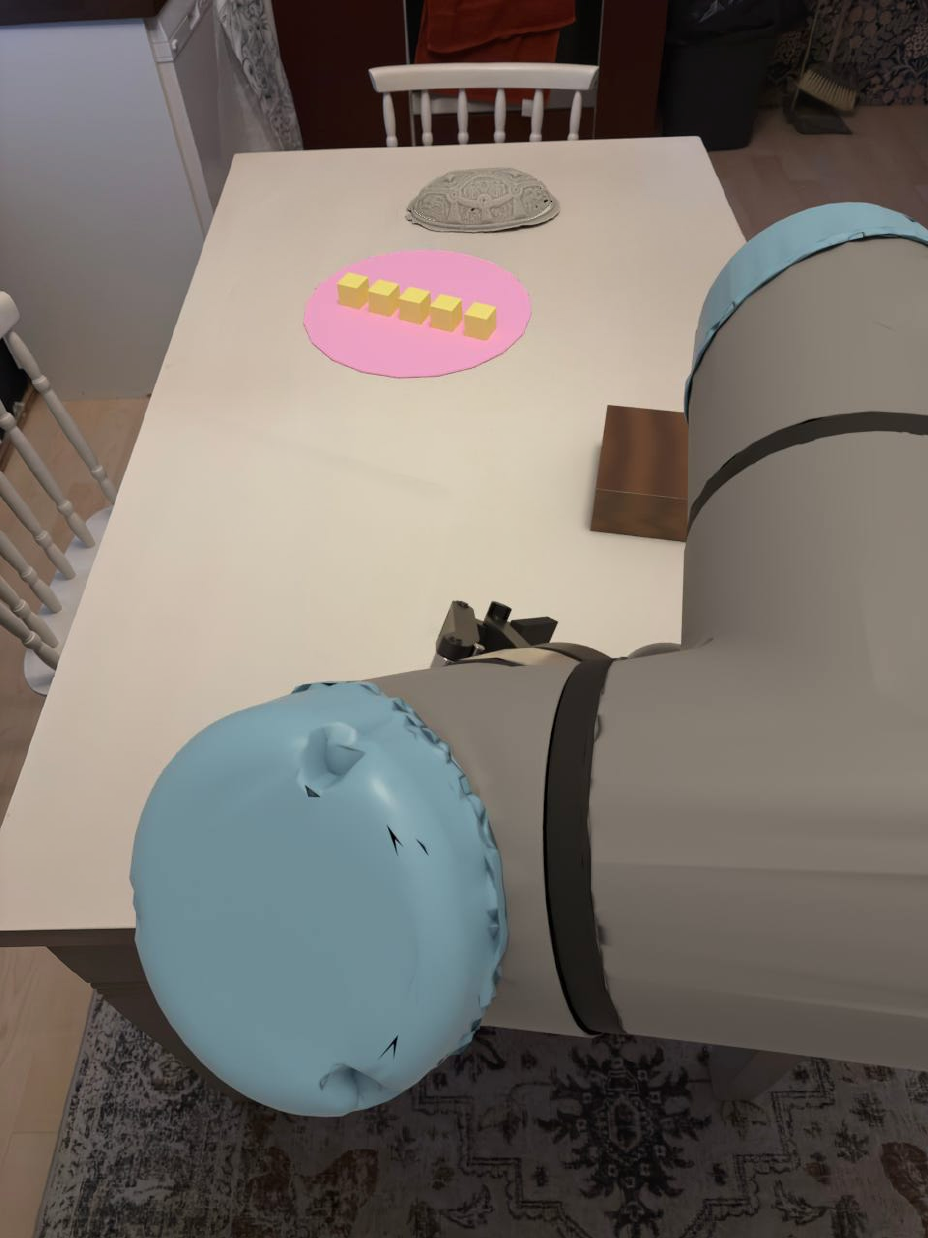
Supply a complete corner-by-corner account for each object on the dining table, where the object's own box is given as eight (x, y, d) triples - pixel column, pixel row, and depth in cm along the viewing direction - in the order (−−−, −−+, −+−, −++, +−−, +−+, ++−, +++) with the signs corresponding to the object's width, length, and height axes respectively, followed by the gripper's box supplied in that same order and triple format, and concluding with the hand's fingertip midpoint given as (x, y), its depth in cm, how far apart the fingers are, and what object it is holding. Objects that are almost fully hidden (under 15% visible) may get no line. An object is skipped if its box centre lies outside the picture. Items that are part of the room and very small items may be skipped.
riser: (723, 459, 96) (735, 417, 92) (722, 546, 88) (736, 505, 83) (601, 446, 98) (607, 404, 94) (590, 530, 90) (595, 489, 85)
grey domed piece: (566, 225, 129) (566, 178, 124) (405, 240, 130) (400, 194, 125) (555, 189, 140) (555, 145, 135) (407, 203, 141) (402, 160, 136)
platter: (474, 402, 104) (473, 379, 101) (258, 344, 113) (253, 321, 110) (564, 276, 121) (566, 253, 119) (372, 234, 130) (370, 212, 128)
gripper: (224, 693, 33) (442, 655, 53) (850, 1066, 25) (834, 856, 44) (286, 518, 32) (487, 545, 51) (973, 850, 23) (900, 731, 43)
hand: (648, 689), depth 48 cm, fingers open, 13 cm apart
